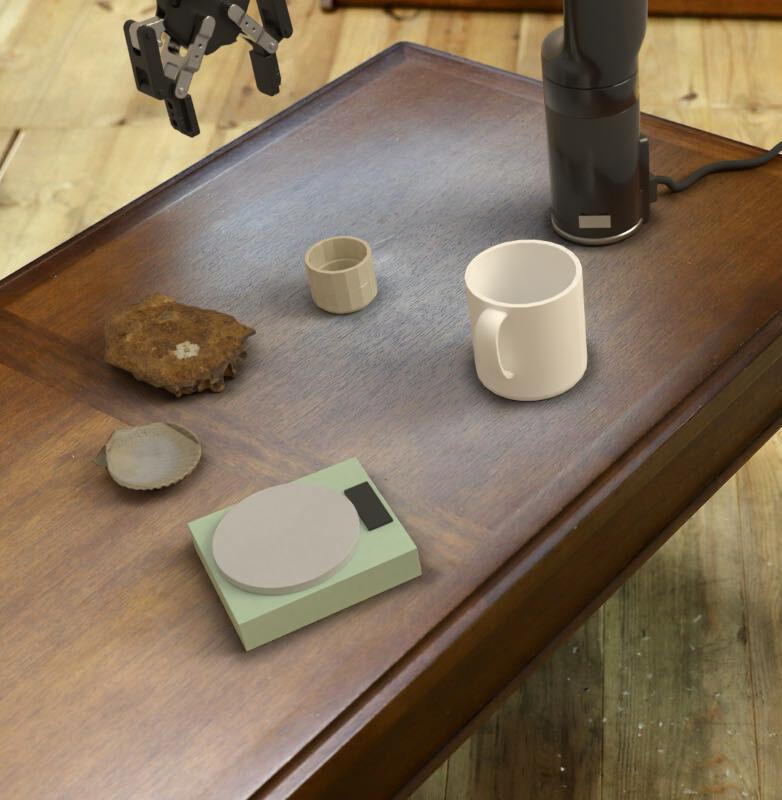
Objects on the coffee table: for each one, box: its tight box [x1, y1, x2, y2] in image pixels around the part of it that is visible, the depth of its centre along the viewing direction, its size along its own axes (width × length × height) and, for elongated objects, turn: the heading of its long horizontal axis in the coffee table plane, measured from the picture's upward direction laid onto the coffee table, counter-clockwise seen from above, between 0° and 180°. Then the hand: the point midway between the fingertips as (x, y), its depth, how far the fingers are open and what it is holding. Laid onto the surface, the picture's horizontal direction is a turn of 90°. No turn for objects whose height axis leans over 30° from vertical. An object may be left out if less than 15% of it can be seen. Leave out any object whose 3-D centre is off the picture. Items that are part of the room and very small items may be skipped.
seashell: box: [92, 421, 203, 492], centre depth 114 cm, size 8×3×8 cm
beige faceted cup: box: [304, 235, 378, 315], centre depth 131 cm, size 6×6×5 cm
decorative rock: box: [103, 292, 257, 398], centre depth 126 cm, size 11×4×15 cm
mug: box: [464, 239, 588, 402], centre depth 120 cm, size 13×10×10 cm
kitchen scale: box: [186, 456, 423, 652], centre depth 105 cm, size 14×12×4 cm
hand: (230, 112), depth 116 cm, fingers open, 8 cm apart
